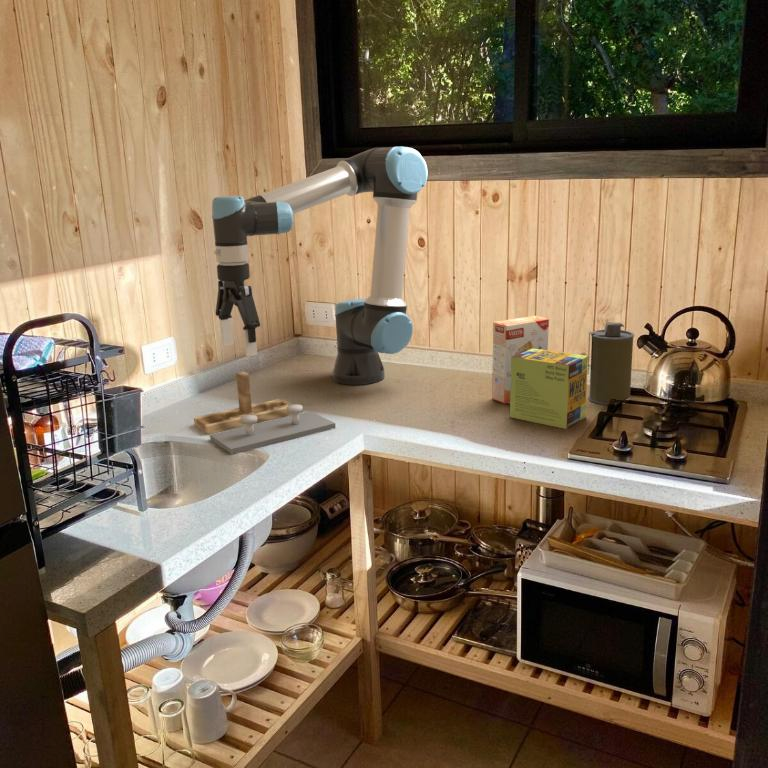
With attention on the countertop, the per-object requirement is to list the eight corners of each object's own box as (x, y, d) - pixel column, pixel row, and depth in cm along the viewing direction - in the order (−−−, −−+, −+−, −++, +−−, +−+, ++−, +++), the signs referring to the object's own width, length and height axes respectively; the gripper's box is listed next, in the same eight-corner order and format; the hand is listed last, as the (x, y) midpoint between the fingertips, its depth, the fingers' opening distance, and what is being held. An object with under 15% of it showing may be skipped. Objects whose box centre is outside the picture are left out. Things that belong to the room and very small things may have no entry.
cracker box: (505, 405, 204) (506, 325, 198) (491, 399, 209) (491, 321, 203) (547, 395, 211) (549, 318, 205) (533, 390, 216) (534, 314, 210)
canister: (627, 393, 210) (631, 319, 204) (633, 405, 200) (637, 328, 194) (584, 393, 212) (587, 319, 206) (589, 405, 202) (592, 328, 196)
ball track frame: (281, 405, 210) (277, 361, 207) (296, 413, 203) (293, 368, 200) (194, 425, 197) (189, 378, 194) (208, 434, 190) (203, 386, 187)
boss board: (310, 415, 201) (309, 395, 200) (335, 427, 192) (334, 406, 190) (210, 439, 187) (208, 417, 185) (231, 454, 177) (229, 431, 176)
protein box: (567, 429, 185) (569, 365, 181) (509, 417, 195) (509, 356, 190) (586, 417, 193) (589, 355, 189) (530, 406, 203) (531, 347, 198)
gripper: (197, 259, 197) (205, 343, 203) (240, 269, 177) (247, 362, 183) (225, 256, 201) (232, 339, 207) (270, 266, 181) (276, 357, 187)
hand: (239, 350), depth 195 cm, fingers open, 13 cm apart
